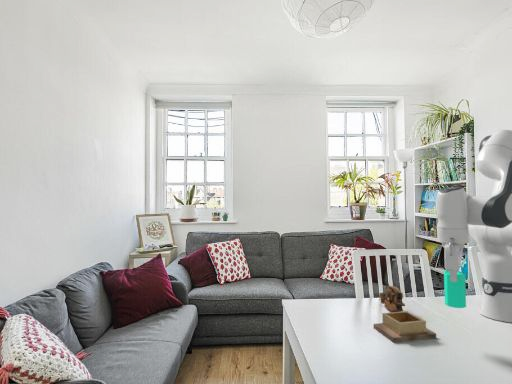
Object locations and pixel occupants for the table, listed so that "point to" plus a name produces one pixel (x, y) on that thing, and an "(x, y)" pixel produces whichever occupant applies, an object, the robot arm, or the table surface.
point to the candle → (455, 290)
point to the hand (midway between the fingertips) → (454, 279)
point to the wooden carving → (392, 299)
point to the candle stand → (403, 327)
